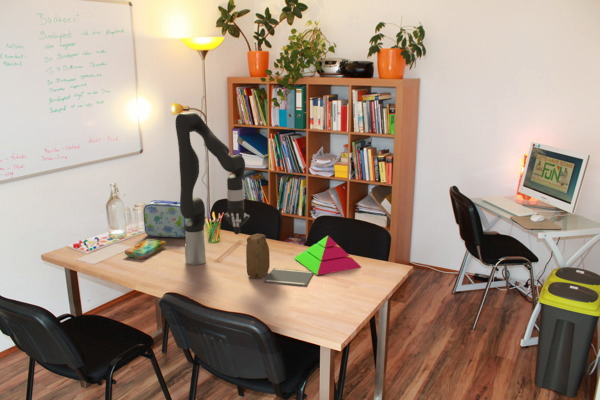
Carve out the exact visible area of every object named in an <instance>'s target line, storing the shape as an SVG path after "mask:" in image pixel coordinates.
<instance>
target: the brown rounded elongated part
mask: <svg viewBox="0 0 600 400" xmlns="http://www.w3.org/2000/svg"><path fill="white" fill-rule="evenodd" d="M245 246H246V250H245V256H246V257H245V258H246V259H245V262H246V263H245V264H246V273H247V276H248V277H250V278H251V279H261V278H264V277H265V276H266V275H267V274H268V272H269V269H270V260H271V259H270V247H269V245H268V242H267V238H266V235H265V234H263V233H254V234H252V235H249V236H248V237H247V238H246V245H245Z"/></svg>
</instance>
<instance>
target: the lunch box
mask: <svg viewBox="0 0 600 400" xmlns="http://www.w3.org/2000/svg"><path fill="white" fill-rule="evenodd" d="M189 220H190V219H186V218H184V217H183V216H182V214H181V211H180V201H178V200H177V201H173V200H172V201H169V200H159V199H157V200H156V199H154V200H151V201H150V202H149V203H147V204H145V205H144V207H143V225H144V232H145V233H146V235H147V236H149V237H155V238H157V237H158V238H159V237H161V238H177V239H181V238H184V237H186V236H185V225H186V223H187V222H188V221H189Z"/></svg>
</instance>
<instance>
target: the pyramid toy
mask: <svg viewBox="0 0 600 400" xmlns="http://www.w3.org/2000/svg"><path fill="white" fill-rule="evenodd" d="M294 259H295V260H296V261H298V263H300V264H302V266H304V267H306V268H307V269H308V270H309V271H310V272H313V274H314V275H316V276H320V275H326V274H331V273H337V272H342V271H346V270H347V271H348V270H354V269H358V268H362V266H361V265H360V264H359V263H358V262H357V261H356V260H355V259H354V258H353V257H351V256H350V254H349V253H347V251H345V250H344V249H343V248H342V247H341V246H339V244H338V243H336V241H335V240H334V239H332V237H330V235H327V236H325V237H323V238H322V239H321V240H319V241H317V243H314V244H312V245H311V246H310V247H308V248H307V249H306V250H304V251H302V252H301V253H299V254H298V255H296V256H294Z"/></svg>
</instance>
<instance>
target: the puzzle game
mask: <svg viewBox="0 0 600 400" xmlns="http://www.w3.org/2000/svg"><path fill="white" fill-rule="evenodd" d="M166 244H167V241H166V240H160V239H159V240H158V239H152V238H151V239H150V238H147V239H144V240H143V241H141V242H138V244H134V245H133V246H131V247H128V248H126V249H125V250H124V254H125V255H126V256H127V257H128V258H132V257H134V259H139V258H140V259H139V260H144V259H147V258H148V257H150V256H151V255H153V254H155V253H157V252H159V251H160V250H162V247H164V246H165V245H166ZM158 250H159V251H158ZM149 255H150V256H149Z"/></svg>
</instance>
